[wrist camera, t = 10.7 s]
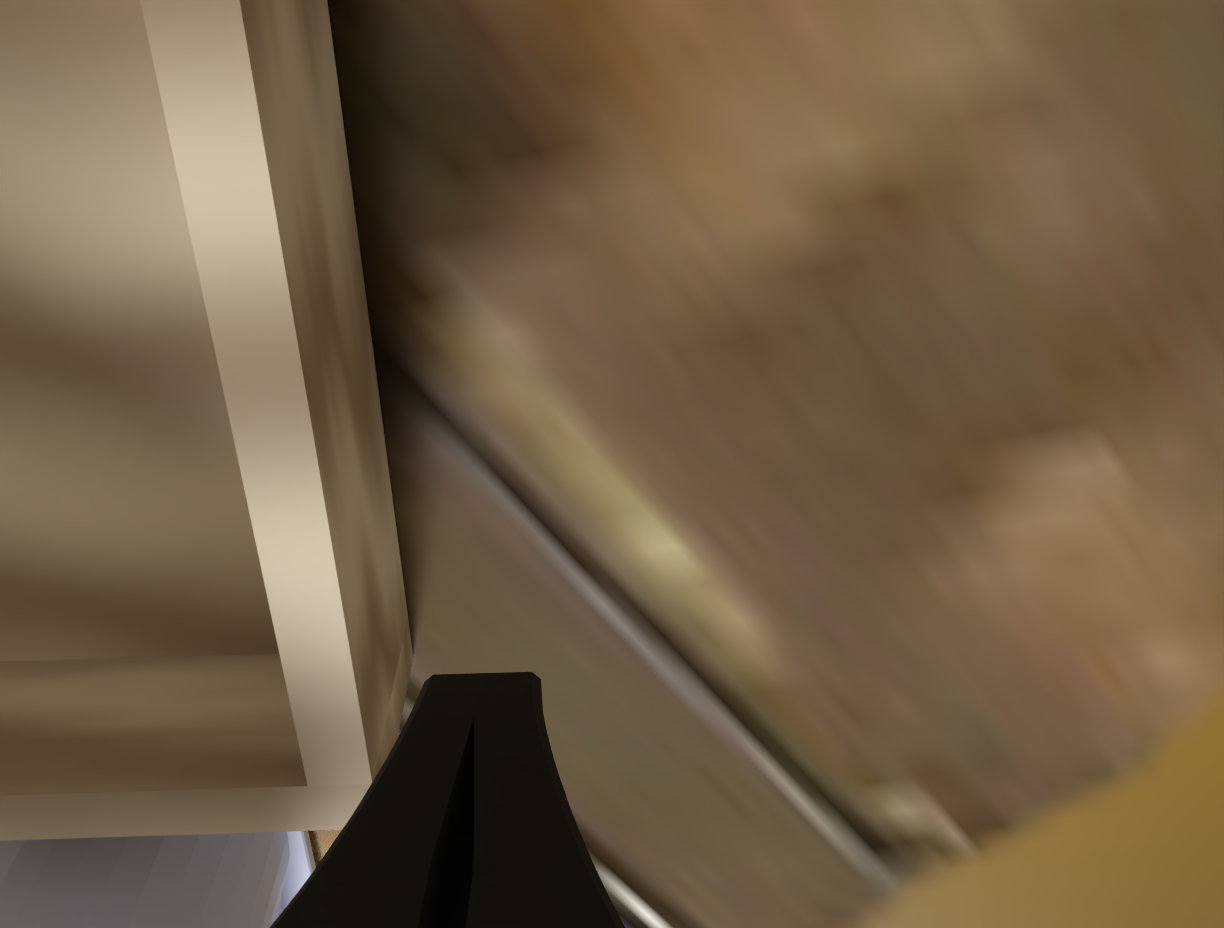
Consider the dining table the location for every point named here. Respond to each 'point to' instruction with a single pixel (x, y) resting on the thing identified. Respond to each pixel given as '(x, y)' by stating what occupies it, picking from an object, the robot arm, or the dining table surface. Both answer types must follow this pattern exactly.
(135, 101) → the cart bed
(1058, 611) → the dining table surface
